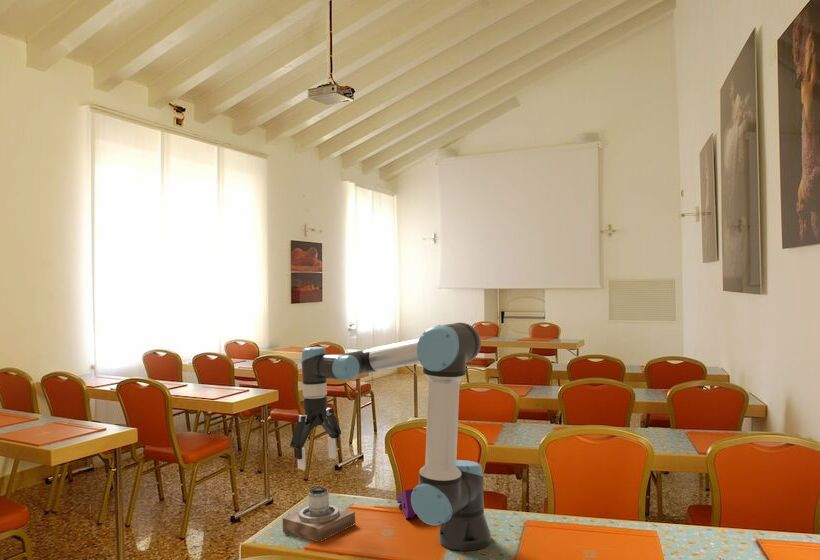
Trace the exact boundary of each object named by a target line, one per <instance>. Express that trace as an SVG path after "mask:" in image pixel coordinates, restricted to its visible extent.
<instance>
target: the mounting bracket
mask: <svg viewBox="0 0 820 560" xmlns="http://www.w3.org/2000/svg"><path fill="white" fill-rule="evenodd" d="M413 490H414V488H411V489H405V490H403V491H402V492H400V493H399V494H397V495H396V497H395V498H396V503H397V504H400V505H401V511H402V515H403V514H404V515H403V517H404V516H405V517H406V518H410V519H414V517H415V515H416V514H415V512H414V510H413V508H412V504H411V494H412V491H413ZM405 517H404V518H405ZM406 518H405V519H406Z"/></svg>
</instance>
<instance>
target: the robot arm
mask: <svg viewBox="0 0 820 560" xmlns="http://www.w3.org/2000/svg"><path fill="white" fill-rule="evenodd" d="M481 347H482V340H481V336H480V334H479V332H478V330H477V329H476V328H475V327H474V326H472V325H470V324H468V323H467V322H466V323H465V322H454V323H448V324H438V325H437V324H436V325H435V326H433V327H430V328H427V329H426V330H425V331H424V332H422V334H421V335H420V337H418V338H413V339H409V340H404V341H400V342H395V343H391V344H387V345H381V346H376V347H372V348H371V347H370V348H367V349H362V350H361V349H360V350H357V351H352V352H346V353H340V354H327V352H326V348H325V347H324V346H323V347H322V346H312V347H311V346H310V347H304V348H302V351H301V361H300V362H301V374H302V377H301V378H302V396H303V398H302V404H303V407H302V408H303V410H304V411H305V412H304V414H303V415H302V414H298V415H297V416H296V424H295V428H294V430H293V434H292V437H291V440H290V444H289V447H290V448H295V458H296V461H297V470H302V471H305V470H307V469H306V467H307V466H306V448H305V447H304V445H305V444H306V442H307V440H308V437H309V436H310V434H311V431H312V430H313V429H314V428H316V427H318V426H321V427H322V428H323V429H324V431H325V432H326V433H327V434H328V436H329V437H327V447H328V448H327V449H328V451H327V452H328V453H327V454H328V458H329V459H333V460H336V459H337V446H338V444H337V443H338V440H337V439H339V438H340V435H342V430H341V428H340V425H339V423H338V421H337V419H336V416H335V412H334V411H335V410H334V408H332V407H328V397H327V394H328V388H327V387H328V386H327V385H328V383H327V379H331V380H340V381H346V380H347V381H348V380H349V381H351V380H354V379H355V378H356V377H357V376H360V375H364V374H365V375H366V374H369V373H374V372H380V371H385V370H386V371H387V370H390V369H391V370H392V369H396V368H402V367H407V366H414V365H418V364H420V365H421V366H422V370H423V371H422V374H423V376H425V377H426V378H427V380H428V382H427V405H426V406H427V408H426V409H427V410H426V430H425V431H426V432H425V433H426V436H425V437H426V438H425V440H426V441H425V459H424V460H425V461H424V462H425V464H424V465H423V466H422V467H421V468H420V469H419V475H418V484H416V486H415V487H414V488H413V489H414V490H413V491H412V494H411V504H412V508H413V510H414V512H415V515H417V518H419V520H421V521H422V522H423V523H425V524H427V525H430V526H440V528H439V533H438V537H439V538H438V541H439V543H440V545H442V546H444V547H445V548H447V549H451V550H454V551H461V552H465V551H466V552H468V551H476V550H481V549H483V548H486V547H487V546H489V545H490V544H491V542H492V539H491V538H492V536H491V531H490V528H489V525H488V521H487V519H486V516H485V511H484V510H485V509H484V508H485V507H484V505H485V504H484V474H483V467H482V465H481V464H480V463H479V462H476V461H471V460H465V459H463V460H462V459H457V455H458V454H457V453H458V452H457V450H458V448H457V447H458V431H459V430H458V429H459V405H460V404H459V403H460V385H461V384H460V382H461V380H462V379H464V377H465V376H466V373H467V371H466V370H467V369H466V367H467V363H469V362H471V361H473V360H474V359H475V358H476V357H477V356H478V355H479V353H480V350H481Z"/></svg>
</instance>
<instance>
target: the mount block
mask: <svg viewBox="0 0 820 560" xmlns="http://www.w3.org/2000/svg"><path fill="white" fill-rule="evenodd" d="M354 523H355V524H356V512H355V511H353V510H349V509H344V508H341V507H338V506H336V505H333V504H330V503H329V511H328V514H327V515H326V516H323V517H312V516H311V515H310V512H309V505H307V506H305V507H303V508H301V509H300V510H298V511H296V512H294V513H291V514H289V515H286V516H284V517H282V532H286V533H288V534H292V535H296V536H298V537H302V538H305V539H309V540H311V541H314V540H317V541H316V542H318V541H321V540H323V539H325V538H327V537H329V536H331V535H333V534H335V533H337V532H339V531H341V530H343V529H345V528H347V527H349V526H351V525H353V524H354ZM353 526H354V525H353ZM351 527H352V526H351ZM349 528H350V527H349ZM347 529H348V528H347ZM345 530H346V529H345ZM343 531H344V530H343ZM341 532H342V531H341ZM339 533H340V532H339ZM337 534H338V533H337ZM335 535H336V534H335ZM333 536H334V535H333ZM331 537H332V536H331ZM329 538H330V537H329ZM327 539H328V538H327ZM325 540H326V539H325ZM323 541H324V540H323ZM321 542H322V541H321Z"/></svg>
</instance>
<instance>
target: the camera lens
mask: <svg viewBox="0 0 820 560" xmlns="http://www.w3.org/2000/svg"><path fill="white" fill-rule="evenodd" d="M307 496H308V506H309V512H310V515H311V516H312V517H323V516H326V515H327V514H328V511H329V504H330V501H329V489H327V488H326V487H321V486H320V487H319V486H318V487H314V488H311V489H310V490H309V491H308V495H307Z"/></svg>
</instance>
